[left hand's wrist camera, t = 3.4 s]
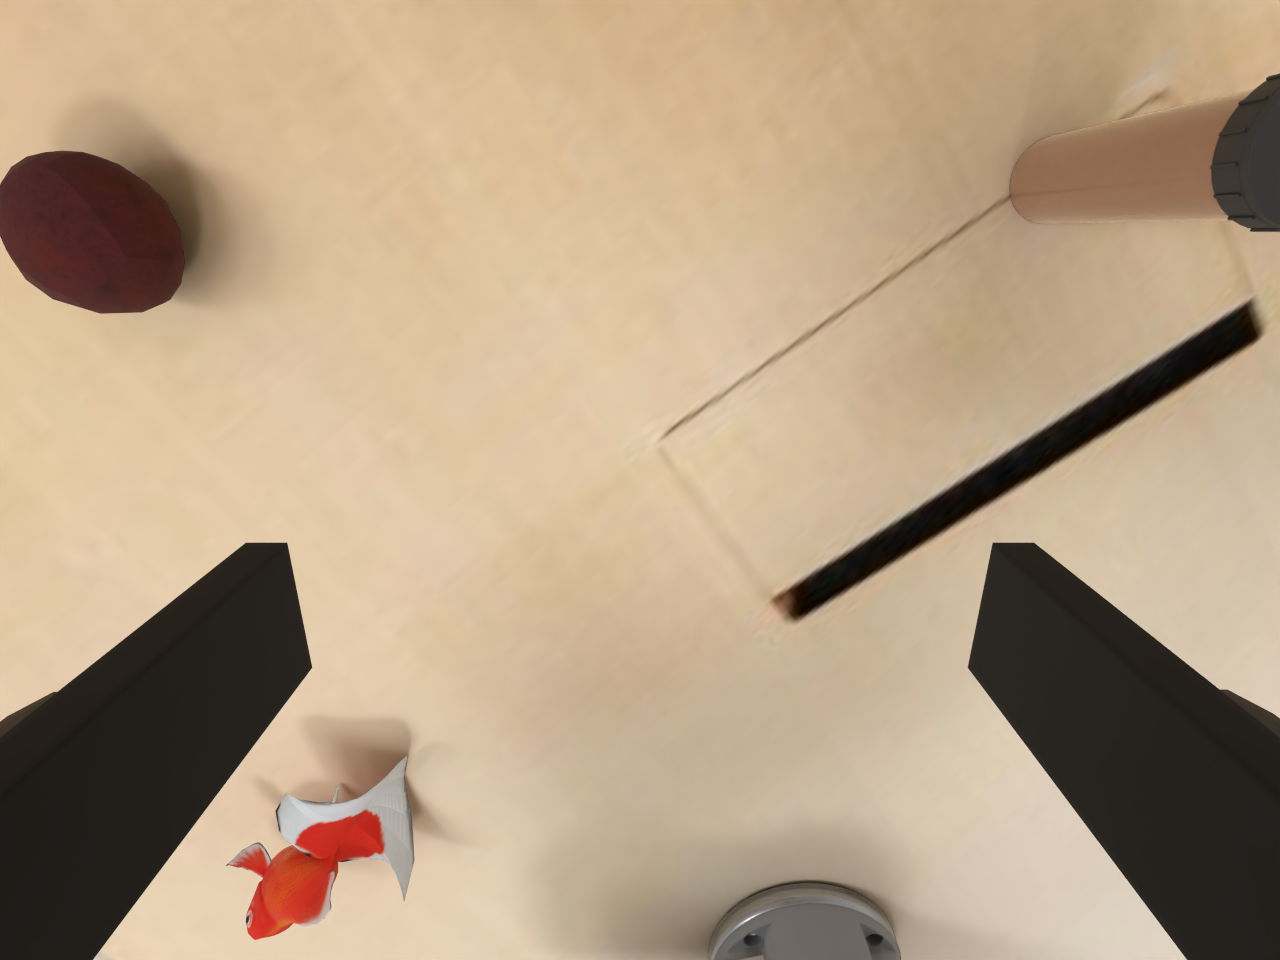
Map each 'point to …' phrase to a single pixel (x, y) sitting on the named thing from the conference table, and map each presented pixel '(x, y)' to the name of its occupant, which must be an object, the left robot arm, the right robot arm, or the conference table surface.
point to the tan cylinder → (1126, 168)
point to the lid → (1251, 160)
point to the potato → (90, 233)
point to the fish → (327, 852)
